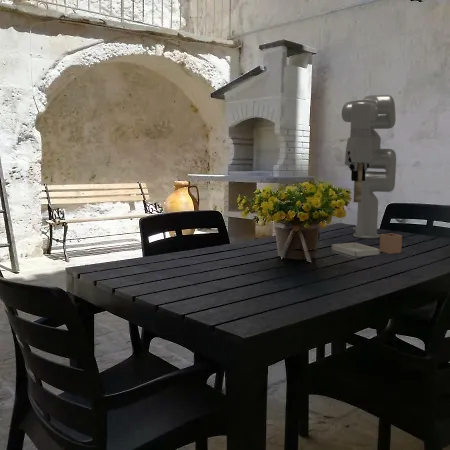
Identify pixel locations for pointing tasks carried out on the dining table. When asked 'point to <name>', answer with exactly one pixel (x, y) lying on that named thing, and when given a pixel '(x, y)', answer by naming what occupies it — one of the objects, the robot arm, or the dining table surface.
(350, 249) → the plastic tray
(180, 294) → the dining table surface
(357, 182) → the beech dowel
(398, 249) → the terracotta cup
